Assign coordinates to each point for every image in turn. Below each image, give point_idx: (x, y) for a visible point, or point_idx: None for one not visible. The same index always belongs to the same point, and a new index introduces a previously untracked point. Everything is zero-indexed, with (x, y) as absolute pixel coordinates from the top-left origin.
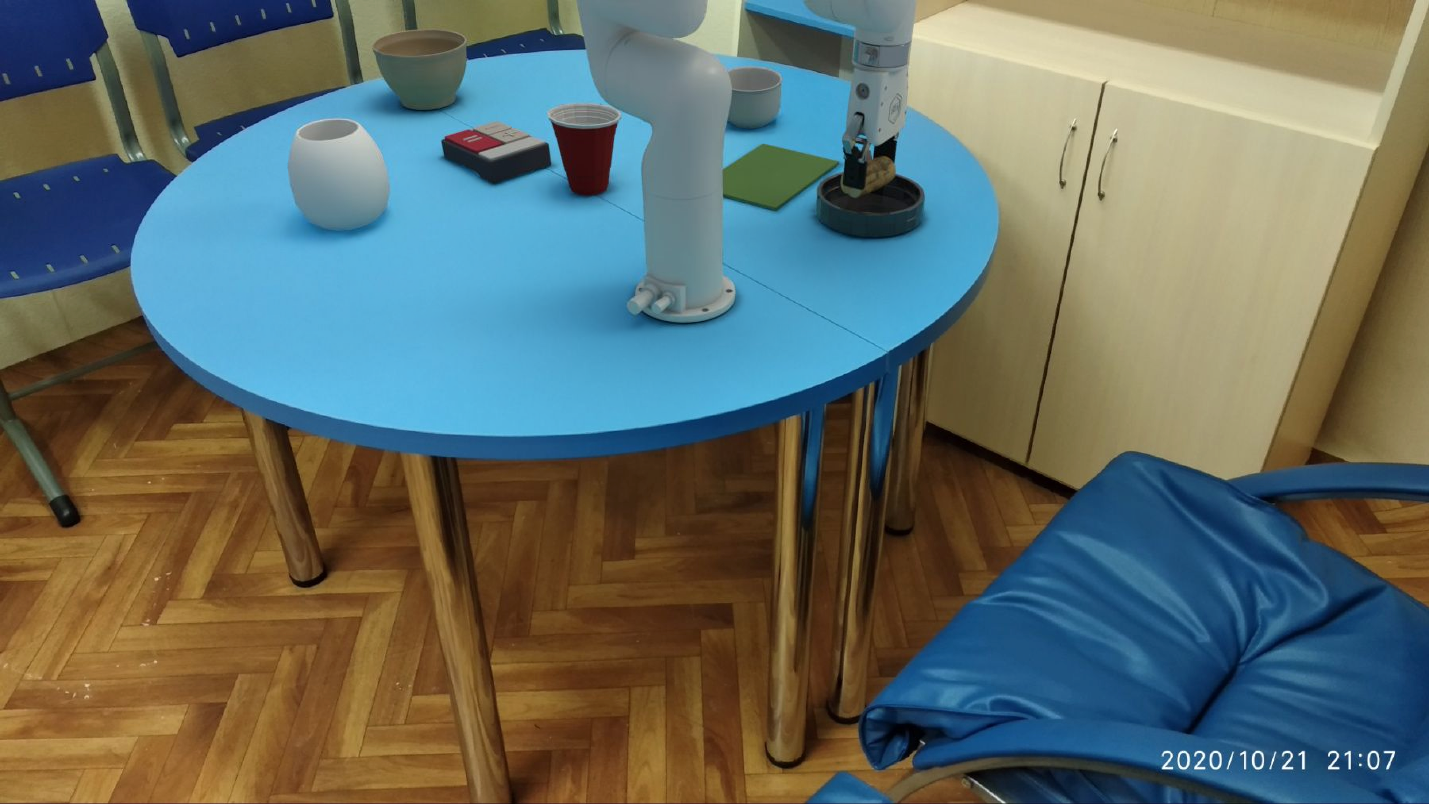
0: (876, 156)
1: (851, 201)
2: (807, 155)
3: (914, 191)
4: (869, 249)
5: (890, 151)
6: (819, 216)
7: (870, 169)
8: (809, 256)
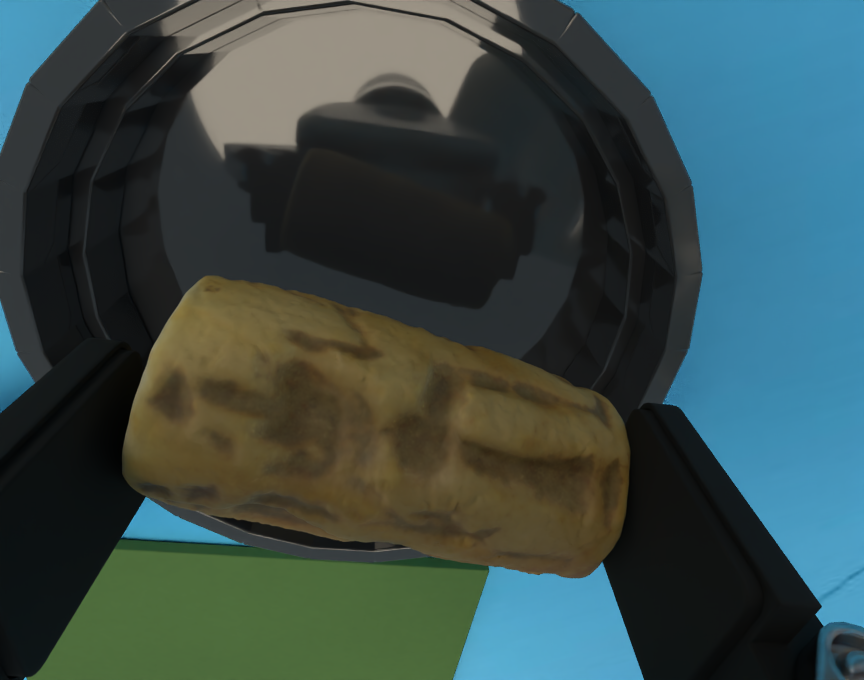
0: (124, 505)
1: None
2: None
3: (99, 94)
4: (751, 164)
5: (54, 468)
6: None
7: (471, 477)
8: (834, 372)
